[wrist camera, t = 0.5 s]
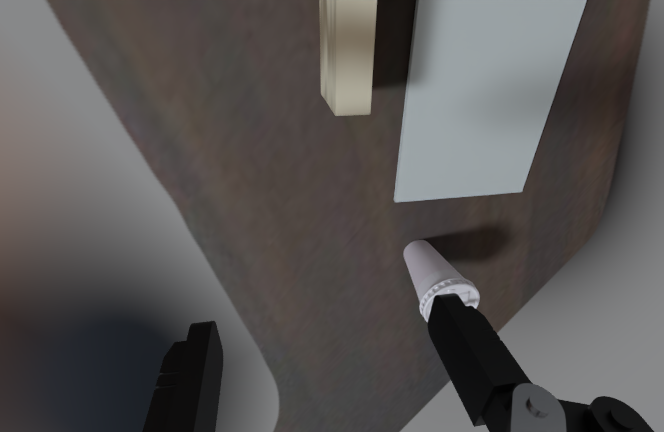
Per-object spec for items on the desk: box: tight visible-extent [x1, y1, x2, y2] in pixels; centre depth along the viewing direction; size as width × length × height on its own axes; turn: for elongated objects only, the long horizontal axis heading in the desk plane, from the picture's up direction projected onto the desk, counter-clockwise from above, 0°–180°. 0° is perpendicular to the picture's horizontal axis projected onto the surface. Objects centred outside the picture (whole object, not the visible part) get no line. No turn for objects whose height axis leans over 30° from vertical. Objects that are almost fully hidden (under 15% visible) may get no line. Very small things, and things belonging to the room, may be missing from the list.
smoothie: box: [404, 240, 480, 322], centre depth 37 cm, size 6×6×14 cm
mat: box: [394, 0, 587, 202], centre depth 34 cm, size 20×16×1 cm
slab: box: [320, 0, 377, 116], centre depth 25 cm, size 10×3×8 cm, turn 0°
